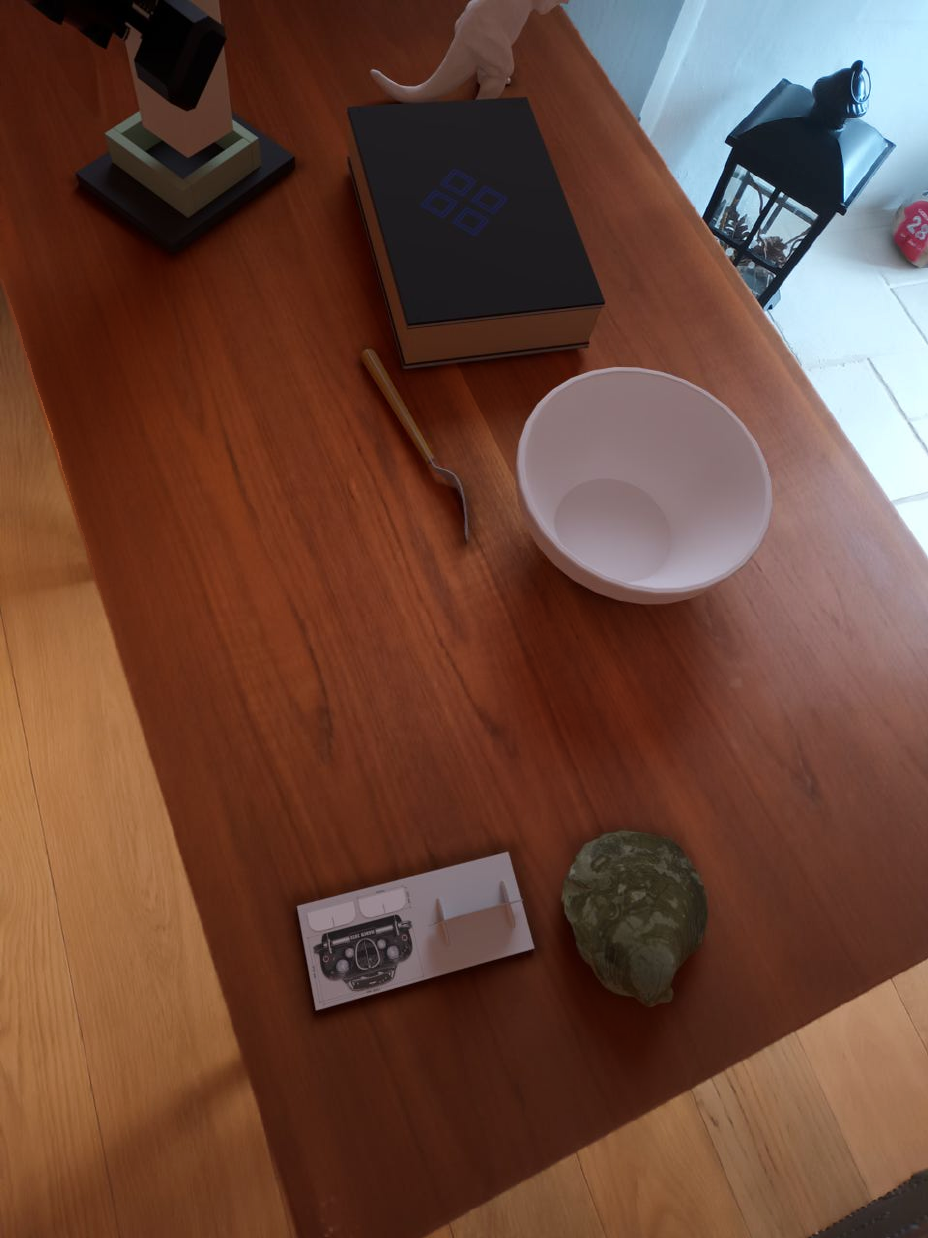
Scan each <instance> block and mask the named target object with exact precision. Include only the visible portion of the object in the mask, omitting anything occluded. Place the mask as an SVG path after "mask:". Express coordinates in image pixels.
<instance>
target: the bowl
mask: <svg viewBox="0 0 928 1238" xmlns="http://www.w3.org/2000/svg"><path fill="white" fill-rule="evenodd" d="M522 429H523V430H522V432H521V435H520V438H519V441H518V444H517V448H516V449H517V450H516V458H515V467H514V480H515V488H516V496H517V504H518V507H519V511H520V513H521V516H522V519H523V522H524V525H525V527H526V529H527V531H528V532H529V534H530V536H531V537H532V539H533V541H534V542H535V544H536V546H537V547H538V548H539V550H541V552H542V553H543V554H544V555H545V556H546V557H547V559H548V560H549V561H550V562H551V563H552V564H553V565H554V566H555V568H557V569H558V570H559V571H561V572H562V573H563V574H565V575H566V577H568V578H569V579H571V580H572V581H574V582H575V583H577V584H579V585H580V586H582V587H584V588H586V589H587V590H590V591H591V592H594V593H596V594H599V595H601V596H605V597H608V598H610V599H613V600H616V601H620V602H627V603H633V604H638V605H639V604H640V605H669V604H672V603H678V602H681V601H686V600H690V599H692V598H695V597H697V596H699V595H702V594H704V593H707V592H708V591H711V590H713V589H715V588H717V587H719V586H721V585H723V584H725V582H726V581H728V580H729V579H730V578H732V577H733V576H734V575H736V574H737V573H739V572H740V571H741V570H742V569H743V568H745V567H746V565H747V564H748V563H749V562H750V561H751V560H752V558H753V557H754V556H755V555H756V553H757V552H758V551H759V549H760V548H761V545H763V541H764V539H765V537H766V535H767V532H768V531H769V528H770V523H771V517H772V512H773V508H774V507H773V483H772V480H771V477H770V476H771V475H770V472H769V468H768V464H767V462H766V459H765V457H764V455H763V453H762V451H761V449H760V446H759V444H758V443H757V442H758V441H756V440H755V438H754V437H753V435H752V434H751V432H750V431H749V429H748V428H747V426H746V425H745V424H744V422H743V421H742V420H741V419H739V418H738V416H737V415H736V414H735V412H733V411H732V410H731V409H730V408H729V407H728V406H727V405H726V404H724V403H723V402H722V401H720V400H719V399H718V398H717V397H715V396H714V395H712V394H711V393H710V392H708V391H707V390H705V389H703V388H702V387H699V386H697V385H695V384H694V383H692V382H689V381H688V380H686V379H683V378H680V377H678V376H675V375H672V374H669V373H666V372H663V371H660V370H653V369H648V368H643V367H629V366H627V367H626V366H625V367H623V366H613V367H608V368H602V369H601V368H600V369H594V370H591V371H587V372H585V373H582V374H579V375H577V376H574V377H571V378H569V379H567V380H566V381H564V382H563V383H560V384H559V385H558V386H556V387H554V388H553V389H552V390H550V391H549V392H548V393H547V394H546V395H545V396H544V397H543V398H541V400H540V401H539V402H538V403H537V404H536V406H535V407H534V409H533V410H532V412H531V413H530V415H529V416H528V418H527V419H526V421H525V423H524V426H523V428H522Z"/></svg>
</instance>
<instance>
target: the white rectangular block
mask: <svg viewBox="0 0 928 1238" xmlns="http://www.w3.org/2000/svg"><path fill="white" fill-rule="evenodd" d="M190 1H191V2H192V3H194V4H195V5H196V6H198V7H199V8H201V9H202V10H203V11H205V12H206V13H207V14H209V15H210V16H211V17H212V18H214V19H215V20H216V21H218V22H219V23H220V24H222V18H221V17H222V16H221V8H220V0H190ZM133 7H134V8H135V9H137V10H138V11H139V12H141V13H142V14H143V15H144V16H146V17H147V18H148V17H149V15H150V14H147V13H146V12H145V11H143V10H142V9H141V8H140V7H138V6H137V5H136V4H134V3H133ZM152 13H153V12H152ZM125 24H126V25H127V26H128V27H130V34H129V36H128V39H127V40H126V41H124V42H125V47H126V52H127V57H128V62H129V66H130V71H131V75H132V81H133V86H134V89H135V95H136V99H137V104H138V105H137V106H138V108H139V111H140V114H141V119H142V124H143V126H144V127H145V128H146V129H148V130H149V131H151V132H152V133H153V134H155V135H156V136H158V137H159V138H160V139H162V140H163V141H165V142H166V143H167V144H169V145H170V146H172V147H173V148H174V149H176V150H177V151H179V152H180V153H181V154H183V155H184V156H186V157H187V158H189V157H191V156H192V155H194V154H195V153H197V152H199V151H200V150H202V149H204V148H205V147H207V146H208V145H210V144H212V143H213V142H215V141H217V140H218V139H220V138H222V137H223V136H225V135H226V134H228V133H230V132H231V131H233V124H232V115H231V111H232V108H231V106H232V105H231V98H230V89H229V79H228V71H227V62H226V61H227V60H226V52H225V45H224V46H223V48H222V51H221V53H220V55H219V57H218V60H217V62H216V64H215V66H214V69H213V71H212V73H211V75H210V77H209V80H208V82H207V84H206V86H205V89H204V91H203V93H202V95H201V98H200V100H199V102H198V104H197V106H196V109H193V110H190V111H188V112H186V111H185V110H183V109H181V108H179V107H177V106H175V105H173V104H171V103H169V102H168V101H167V100H165V99H164V98H163V97H162V96H160V95H159V94H158V93H156V92H155V91H154V90H153V89H151V88H150V87H149V86H148V85H146V84H145V83H144V82H142V81H141V80H140V79H139V78H138V77H137V73H136V68H135V64H134V58H135V56H136V54H137V51H138V49H139V46H140V44H141V41H142V40H141V39H140V37H141V35H142V34H141V33H140V32H139V31H137V30H136V29H135V28H133V27H132V26H131V25H130V24H128V23H127V22H126V23H125Z"/></svg>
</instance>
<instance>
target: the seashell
mask: <svg viewBox="0 0 928 1238" xmlns="http://www.w3.org/2000/svg"><path fill="white" fill-rule="evenodd" d="M561 892H562V893H561V899H560V902H561V905H562V907H563V909H564V915H565V916H566V919H567V921H568V922H569V924H570V926H571V928H572V931H573V934H574V939H575V942H576V943H575V944H576V949H577V952H578V954H579V956H580V957H581V959H582V960H583V961H584V962H585V963H586V964H588V965H589V967H590V969H591V970H592V972H593V973H594V975H595V976H596V978H597V980H598V981H599V982H600V983H601V984H602V985H603V986H604V988H605V989H607V990H609V992H611V993H614V994H616V995H620V996H624V997H633V998H635V999H636V1000H637V1001H638V1002H639V1003H640V1004H642V1005H644V1006H645V1007H647V1008H651V1007H654V1006H656V1005H658V1004H663V1003H670V1002H671V1001H672V1000H673V996H674V991H673V988H672V987H671V985H672V982H673V979H674V977H675V974H676V972H677V971H678V969H679V968H680V967H681V966H682V965H683V964H684V963H685V962H686V960H687V959H688V958H689V956H690V955H691V954H693V953H694V952H695V951H696V950H698V949H699V948H700V947H701V945H702V943H703V939H704V935H705V933H706V931H707V928H708V921H709V905H708V898H707V893H706V889H705V887H704V884H703V882H702V879H701V875H700V874H699V873H698V871H697V869H696V868H695V866H694V864H693V863H692V861H691V860H690V859H689V857H688V856H687V855H686V853H685V851H684V850H683V849H682V847H681V846H680V845H679V844H678V843H677V842H676V841H675V840H672V839H671V838H670V837H664V836H660V835H656V834H652V833H647V832H640V831H630V830H628V829H627V830H626V829H620V830H618V831H614V832H606V833H605V832H604V833H602V834H601V835H600V836H599V837H598V838H595V839H592V840H591V841H587V842H585V843H584V844H583V845H582V846H581V848H580V850H579V851H578V852H577V854H576V856H575V858H574V859H573V863H572V865H571V866H570V868H569V870H568V872H567V874H566V876H565V878H564V880H563V881H562V891H561Z"/></svg>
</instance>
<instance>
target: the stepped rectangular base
mask: <svg viewBox="0 0 928 1238" xmlns="http://www.w3.org/2000/svg"><path fill="white" fill-rule="evenodd" d="M231 115H232V124H233V131H231V132H230V133H228V134H226V135H225V136H223V137H222V138H220V139H218V140H217V141H215V142H213V143H212V144H210V145H208V146H207V147H205V148H204V149H202V150H200V151H199V152H197V153H195V154H194V155H192V156H191V157H189V158H187V157H186V156H184V155H183V154H181V153H180V152H179V151H177V150H176V149H174V148H173V147H172V146H170V145H169V144H167V143H166V142H165V141H163V140H162V139H160V138H159V137H158V136H156V135H155V134H153V133H152V132H151V131H149V130H148V129H146V128H145V127H144V126H143V124H142V119H141V114H140V110H139V111H137V112H135V113H134V114H133V115H131V116H129V117H128V118H126V119H125V120H123V121H121V122H119V124H117V125H115V126H114V127H112V128H111V129H109V130H107V131H106V132H104V137H105V140H106V144H107V147H108V151H107V152H106V153H104V154H103V155H101V156H99V157H98V158H96V159H95V160H93V161H92V162H90V163H89V164H86V165H85V166H84V167H82V168H81V169H78V170H77V171H76V172H75V176H76V178H77V183H78V184H79V185H80V186H81V187H83V188H84V189H85V190H86V191H88V192H89V193H91V194H92V195H93V196H94V197H96V198H97V199H99V200H100V201H101V202H103V203H104V204H105V205H107V206H108V207H110V208H111V210H113V211H115V213H117V214H119V215H120V216H121V217H123V218H124V219H125V220H127V221H128V222H129V223H131V224H132V225H133V226H135V227H136V228H137V229H138V230H140V232H143V233H144V234H145V235H146V236H148V237H149V238H151V239H152V240H153V241H154V242H156V243H157V244H159V245H160V246H161V247H162V248H164V249H165V250H166V251H168V252H169V253H171V254H172V255H174V256H175V255H176V254H178V253H179V252H181V251H182V250H183V249H185V248H186V247H187V246H188V245H190V244H191V243H193V242H194V241H195V240H196V239H198V238H199V237H201V236H202V235H204V234H206V232H207V231H209V230H210V229H212V228H213V227H215V226H216V225H217V224H219V223H220V222H222V221H223V220H224V219H226V218H227V217H228V216H229V215H231V214H233V212H235V211H236V210H238V209H239V208H241V207H242V206H243V205H245V204H247V202H249V201H250V200H252V199H253V198H254V197H256V196H257V195H258V194H260V193H261V192H262V191H264V190H265V189H267V188H268V187H269V186H270V185H272V184H273V183H275V182H276V181H278V180H279V179H280V178H282V177H283V176H285V175H286V174H287V173H289V172H290V171H291V170H293V169H294V168H295V167H296V156H295V155H294V154H293V153H291V151H288V150H287V149H286V148H284V147H283V146H281V145H280V144H279V143H278V142H276V141H274V140H273V139H271V138H270V137H269V136H267V135H266V134H264V133H263V132H262V131H260V130H259V129H258V128H256V127H255V126H253V125H251V124H250V123H249V122H247V121H246V120H245V119H243V118H242V117H240V116H239V115H238V114H236V113H235V112H234V111H232V110H231Z"/></svg>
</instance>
